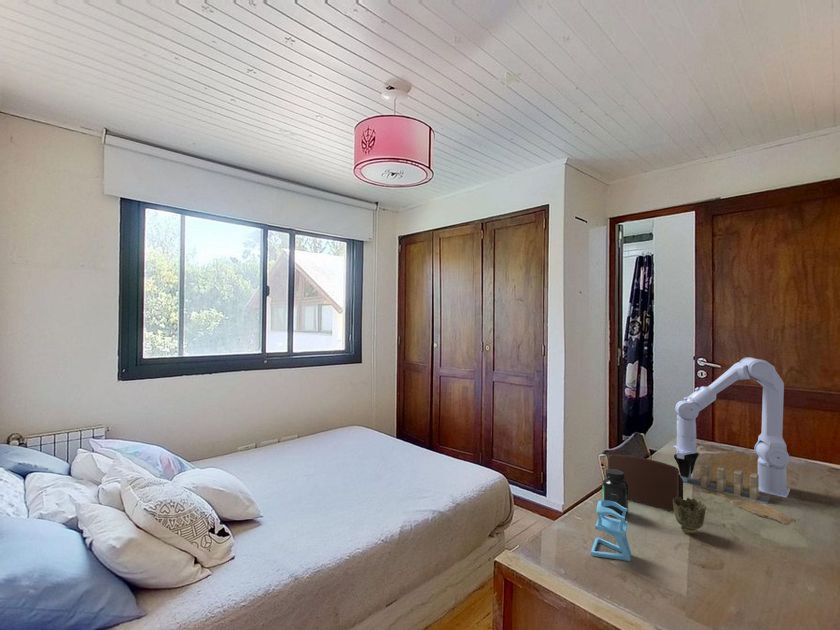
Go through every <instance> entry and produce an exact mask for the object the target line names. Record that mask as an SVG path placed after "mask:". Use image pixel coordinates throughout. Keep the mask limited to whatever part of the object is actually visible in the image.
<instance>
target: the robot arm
mask: <svg viewBox="0 0 840 630" xmlns="http://www.w3.org/2000/svg"><path fill="white" fill-rule="evenodd" d="M751 378H752V379H754V381H756V383H758V384H760V386H761V387H762V401H761V402H762V403H761V404H762V405H761V407H762V408H761V409H762V410H761V433H760V434H759V435H758V436H757V437H758V439H757V442H756V443H755V445H754V449H753V450H754V453H755V454H756V455H757V456H758V458H757V474H759V493H764V494H768V495H773V496H776V497H780V498H784V499H787V498H788V496H789V493H790V491H791V489H790V488H789V487H787V486H788V485H787V466H788V465H789V463H790V462H791V457H790V454H789V453H788V451H787V450H788V449H787V444H786V441H785V440H784V437H783V430H784V429H783V428H784V423H783V422H784V396H785V395H784V393H785V392H784V391H785V383H784V381H783V379H782V378H781V376H780V374H779V373H778V372H777V371H776V367H775V366H774V365H773V364H771V363H769V362H768V360H764V359H758V358H755V357H751V356H750V357H749V356H748V357H743V358H741V360H740V361H739V362H735V363H734V364H733V365H732V366H731V367H729V368H728V369H727V370H725V372H724V373H723V374H721V375H720V376H719V377H718V378H716V379H715V380H714V381H713V382H711V384H709V385H708V386H703V385H702V386H700V387H698V386H697V387H696V388H694V391H693V392H692V393H691V394H690V395H688V396H685V397H683V400H680V401H677V402H676V404H675V406H674V407H673V409H674V412H675V413H676V444H675V445H673V446H672V448H673V449H675V450H676V453H675V454H673V458H674V460H675V461H676V463H677V467H678V470H679V474H680V475H681V476H683V477H687V478H688V476H689V472H690V466H691V475H692V474H693V472H694V469H695V463H696V462H697V459H698V457H699V456H700V453H699V452H698V450H697V423H696V418H698V416H699V413H700V412H701V411H702V410H704V409H705V408H706V407H708V406H709V405H710V404H712V403H713V402H715V401H716V400H717V395H718V394H719V393H720V392H721V391H723V390H725V389H726V388H728V387H729V386H731V385H733V384H734V383H735V382H737V381H739V380H751Z"/></svg>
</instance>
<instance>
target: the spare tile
mask: <svg viewBox="0 0 840 630" xmlns="http://www.w3.org/2000/svg"><path fill="white" fill-rule="evenodd" d="M691 478H692V474H691V466H690V472H689V476H688V478H687V477H683V476H682V479H683V481H685V482H688V481H689V480H690V479H691Z"/></svg>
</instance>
